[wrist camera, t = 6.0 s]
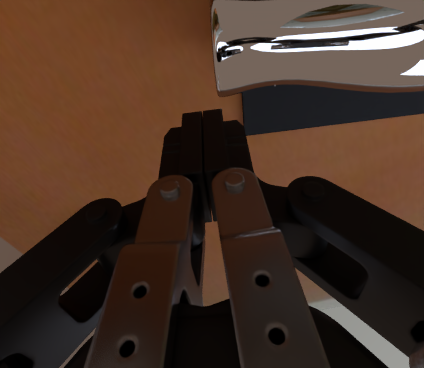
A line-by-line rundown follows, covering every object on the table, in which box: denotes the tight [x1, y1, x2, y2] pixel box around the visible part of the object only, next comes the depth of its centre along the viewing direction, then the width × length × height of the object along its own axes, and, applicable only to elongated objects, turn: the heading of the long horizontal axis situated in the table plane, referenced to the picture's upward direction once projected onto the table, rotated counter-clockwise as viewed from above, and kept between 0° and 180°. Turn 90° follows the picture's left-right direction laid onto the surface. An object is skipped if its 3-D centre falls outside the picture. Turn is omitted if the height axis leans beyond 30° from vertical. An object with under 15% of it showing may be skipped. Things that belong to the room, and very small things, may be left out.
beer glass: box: [210, 0, 424, 97], centre depth 16 cm, size 7×7×15 cm
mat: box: [242, 86, 424, 136], centre depth 19 cm, size 15×19×1 cm
